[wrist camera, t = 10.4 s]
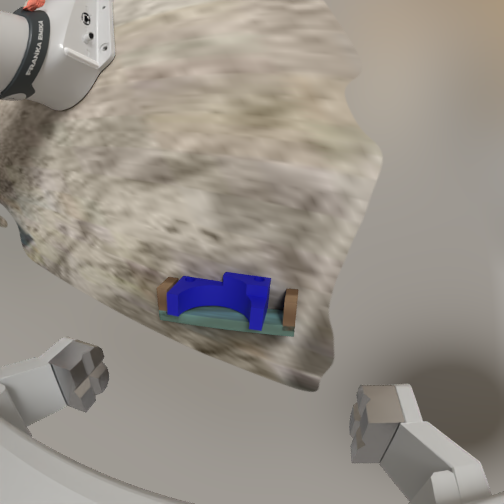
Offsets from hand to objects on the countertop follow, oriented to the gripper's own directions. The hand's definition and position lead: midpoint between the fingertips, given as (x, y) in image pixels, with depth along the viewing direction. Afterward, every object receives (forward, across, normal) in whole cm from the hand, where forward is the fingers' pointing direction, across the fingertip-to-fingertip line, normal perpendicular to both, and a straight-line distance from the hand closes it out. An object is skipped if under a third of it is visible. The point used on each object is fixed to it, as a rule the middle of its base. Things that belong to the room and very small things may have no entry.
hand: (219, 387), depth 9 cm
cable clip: (+32, +8, +11) cm, 34 cm away
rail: (+31, +7, +13) cm, 34 cm away
